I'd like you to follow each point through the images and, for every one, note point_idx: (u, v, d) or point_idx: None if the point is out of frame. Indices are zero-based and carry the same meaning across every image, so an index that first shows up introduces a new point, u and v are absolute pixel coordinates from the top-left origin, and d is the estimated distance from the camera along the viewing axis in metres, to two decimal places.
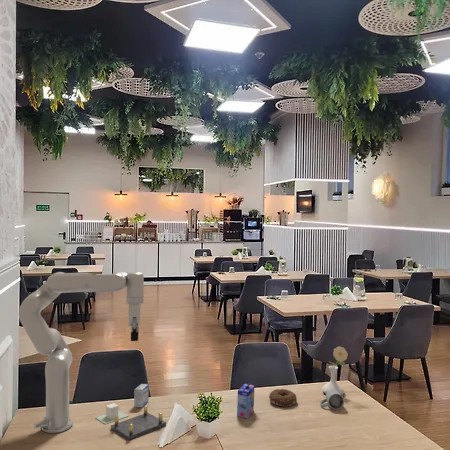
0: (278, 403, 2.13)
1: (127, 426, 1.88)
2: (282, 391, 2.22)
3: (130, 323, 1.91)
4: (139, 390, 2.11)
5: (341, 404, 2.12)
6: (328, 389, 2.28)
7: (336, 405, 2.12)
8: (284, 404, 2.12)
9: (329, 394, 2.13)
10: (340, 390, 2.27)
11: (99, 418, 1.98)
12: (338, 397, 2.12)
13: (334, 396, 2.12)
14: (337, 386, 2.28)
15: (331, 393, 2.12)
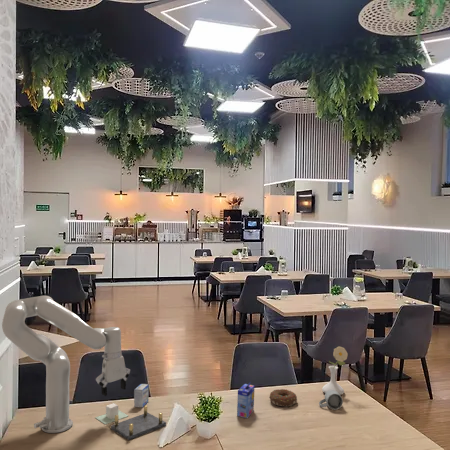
0: (278, 403, 2.13)
1: (127, 426, 1.88)
2: (282, 391, 2.22)
3: None
4: (139, 390, 2.11)
5: (340, 404, 2.12)
6: (328, 389, 2.28)
7: (335, 405, 2.12)
8: (284, 404, 2.12)
9: (328, 394, 2.13)
10: (340, 390, 2.27)
11: (99, 418, 1.98)
12: (337, 397, 2.12)
13: (333, 396, 2.12)
14: (337, 386, 2.28)
15: (330, 393, 2.12)
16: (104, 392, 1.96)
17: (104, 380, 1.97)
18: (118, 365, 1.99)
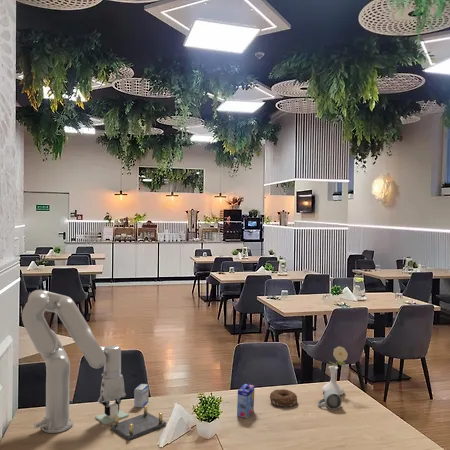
0: (279, 403, 2.13)
1: (127, 426, 1.88)
2: (283, 391, 2.22)
3: None
4: (139, 390, 2.11)
5: (339, 404, 2.12)
6: (328, 389, 2.28)
7: (334, 405, 2.12)
8: (285, 404, 2.12)
9: (327, 394, 2.13)
10: (340, 390, 2.27)
11: (99, 417, 1.98)
12: (336, 397, 2.12)
13: (332, 396, 2.12)
14: (337, 386, 2.28)
15: (329, 393, 2.13)
16: (107, 412, 1.98)
17: (105, 400, 1.98)
18: (117, 384, 1.99)
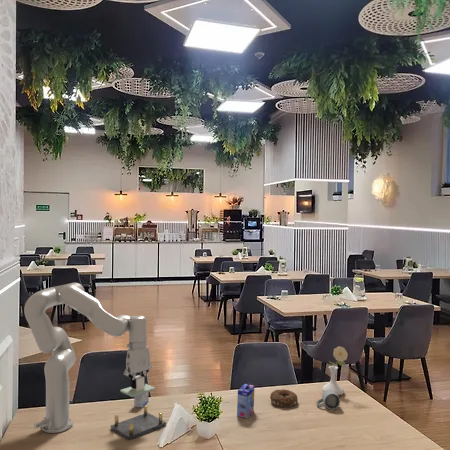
0: (279, 403, 2.13)
1: (127, 426, 1.88)
2: (283, 391, 2.22)
3: None
4: None
5: (337, 404, 2.12)
6: (328, 389, 2.28)
7: (332, 405, 2.12)
8: (285, 404, 2.12)
9: (325, 394, 2.13)
10: (340, 390, 2.27)
11: (125, 390, 1.89)
12: (334, 397, 2.12)
13: (330, 396, 2.12)
14: (337, 386, 2.28)
15: (327, 393, 2.13)
16: (133, 385, 1.89)
17: (131, 373, 1.89)
18: (143, 356, 1.90)
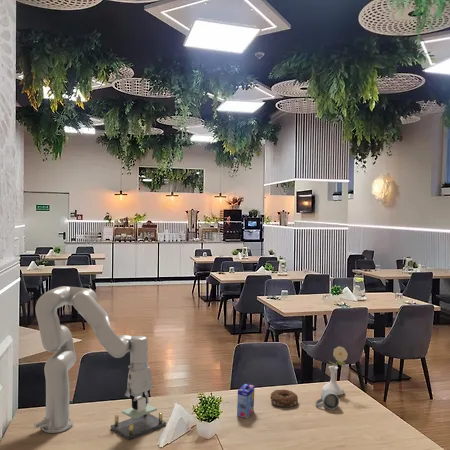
0: (279, 404, 2.12)
1: (127, 426, 1.88)
2: (283, 392, 2.22)
3: None
4: None
5: (336, 404, 2.12)
6: (328, 389, 2.28)
7: (331, 405, 2.12)
8: (285, 405, 2.12)
9: (324, 394, 2.13)
10: (340, 390, 2.27)
11: (126, 411, 1.88)
12: (333, 397, 2.12)
13: (329, 396, 2.12)
14: (337, 386, 2.28)
15: (326, 393, 2.13)
16: (135, 406, 1.88)
17: (133, 393, 1.88)
18: (144, 376, 1.89)
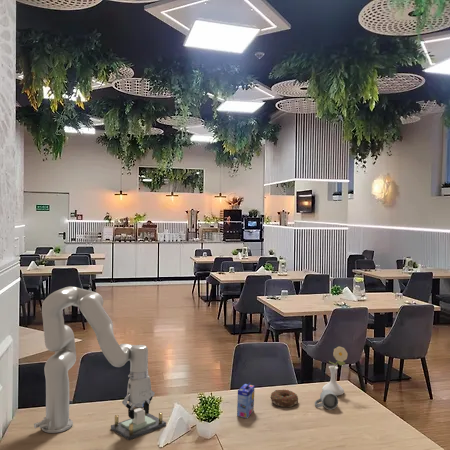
0: (279, 404, 2.12)
1: None
2: (283, 392, 2.21)
3: None
4: None
5: (335, 404, 2.12)
6: (328, 389, 2.28)
7: (330, 405, 2.12)
8: (285, 405, 2.12)
9: (323, 394, 2.13)
10: (340, 390, 2.27)
11: (125, 424, 1.88)
12: (332, 397, 2.12)
13: (328, 396, 2.12)
14: (337, 386, 2.28)
15: (325, 393, 2.13)
16: (131, 415, 1.87)
17: (130, 402, 1.88)
18: (144, 386, 1.89)
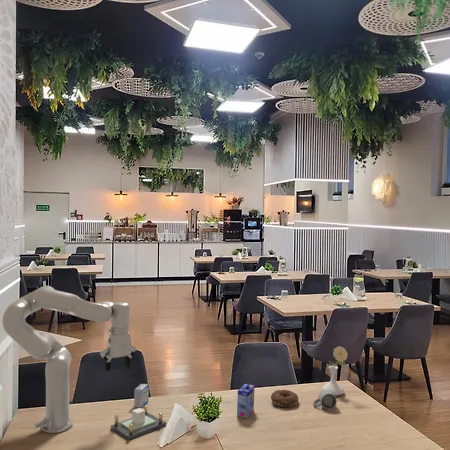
0: (280, 404, 2.12)
1: None
2: (284, 392, 2.21)
3: None
4: (139, 390, 2.11)
5: (334, 404, 2.12)
6: (328, 389, 2.28)
7: (329, 405, 2.12)
8: (286, 405, 2.11)
9: (322, 394, 2.13)
10: (340, 390, 2.27)
11: (125, 424, 1.88)
12: (331, 397, 2.12)
13: (327, 396, 2.12)
14: (337, 386, 2.28)
15: (324, 393, 2.13)
16: (108, 367, 1.92)
17: (109, 355, 1.94)
18: (124, 341, 1.95)
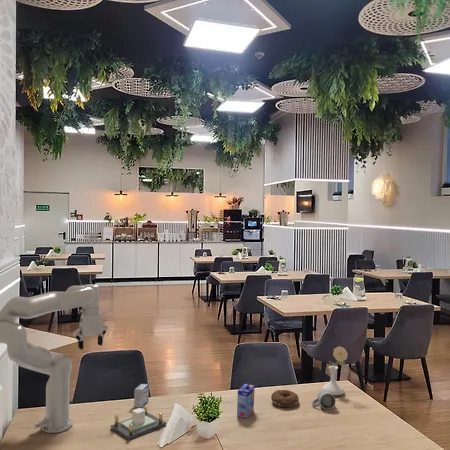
0: (280, 404, 2.12)
1: None
2: (284, 392, 2.21)
3: None
4: (139, 390, 2.11)
5: (333, 404, 2.12)
6: (328, 389, 2.28)
7: (328, 405, 2.12)
8: (286, 405, 2.11)
9: (321, 394, 2.13)
10: (340, 390, 2.27)
11: (125, 424, 1.88)
12: (330, 397, 2.12)
13: (326, 396, 2.12)
14: (337, 386, 2.28)
15: (323, 393, 2.13)
16: (80, 346, 2.03)
17: (81, 334, 2.04)
18: (95, 321, 2.06)
